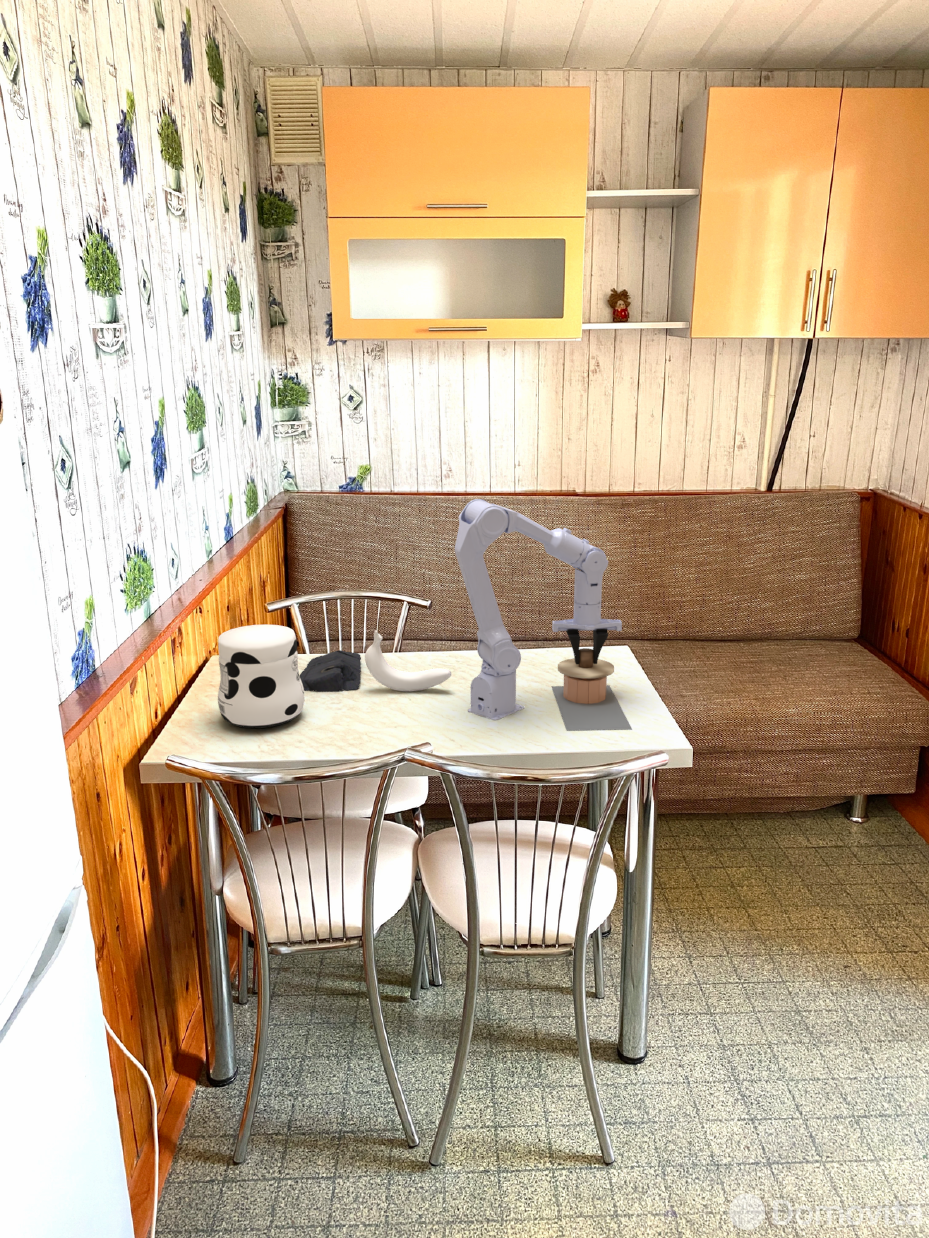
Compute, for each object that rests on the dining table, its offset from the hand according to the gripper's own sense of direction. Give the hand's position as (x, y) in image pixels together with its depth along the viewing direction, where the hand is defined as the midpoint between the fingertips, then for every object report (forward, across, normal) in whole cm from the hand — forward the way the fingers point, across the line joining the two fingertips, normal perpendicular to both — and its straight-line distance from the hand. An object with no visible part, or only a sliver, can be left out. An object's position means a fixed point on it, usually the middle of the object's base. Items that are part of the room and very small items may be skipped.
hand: (585, 662), depth 199 cm
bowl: (+8, 0, 0) cm, 8 cm away
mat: (+8, 0, -6) cm, 10 cm away
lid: (+2, 0, 0) cm, 2 cm away
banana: (+8, -38, +6) cm, 40 cm away
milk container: (+8, -68, -8) cm, 69 cm away
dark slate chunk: (+9, -56, +17) cm, 60 cm away
